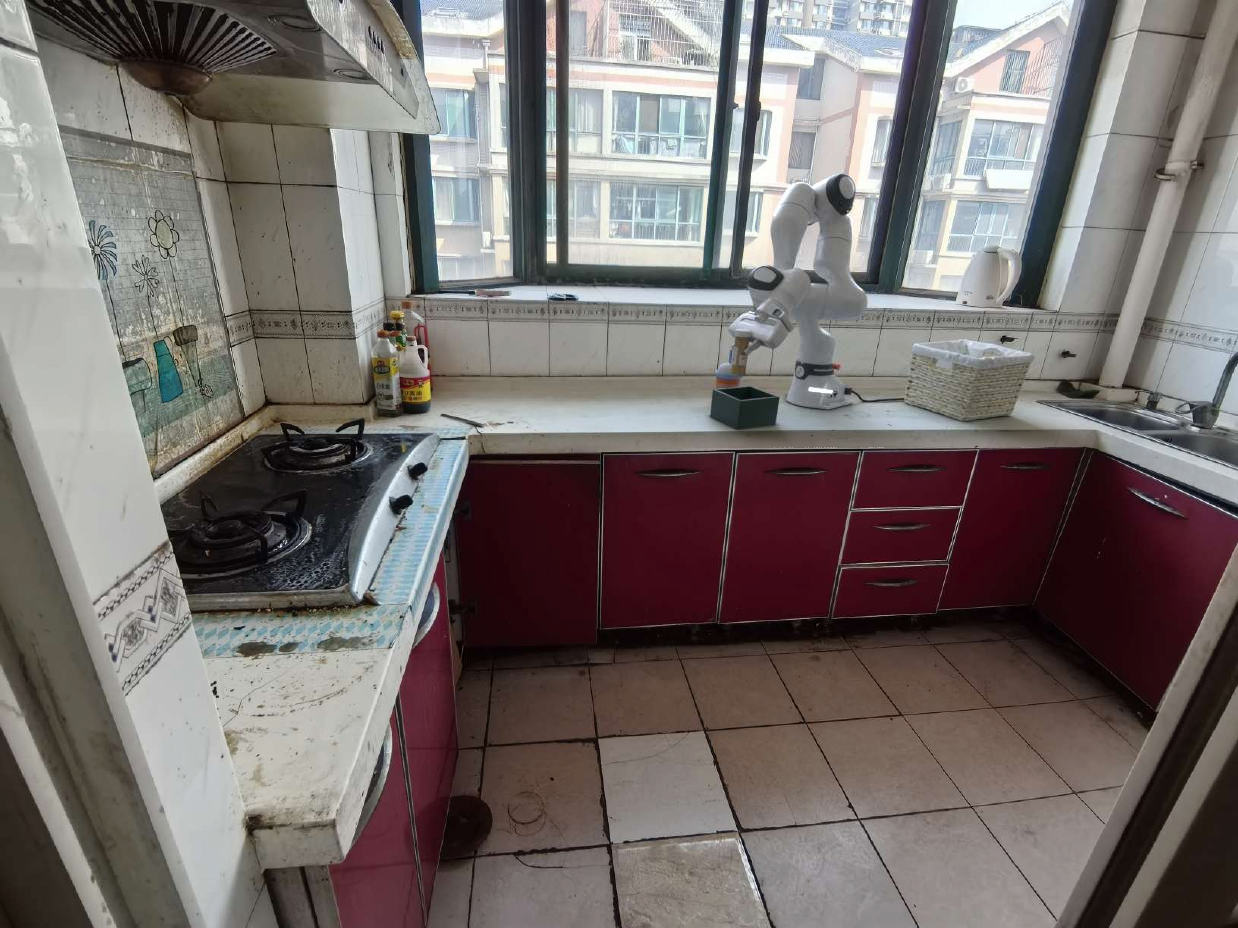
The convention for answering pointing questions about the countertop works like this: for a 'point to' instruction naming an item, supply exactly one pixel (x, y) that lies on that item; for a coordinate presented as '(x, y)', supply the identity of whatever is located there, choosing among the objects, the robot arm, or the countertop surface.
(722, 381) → the cup with straw
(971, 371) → the basket
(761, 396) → the bin
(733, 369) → the sprinkles bottle
